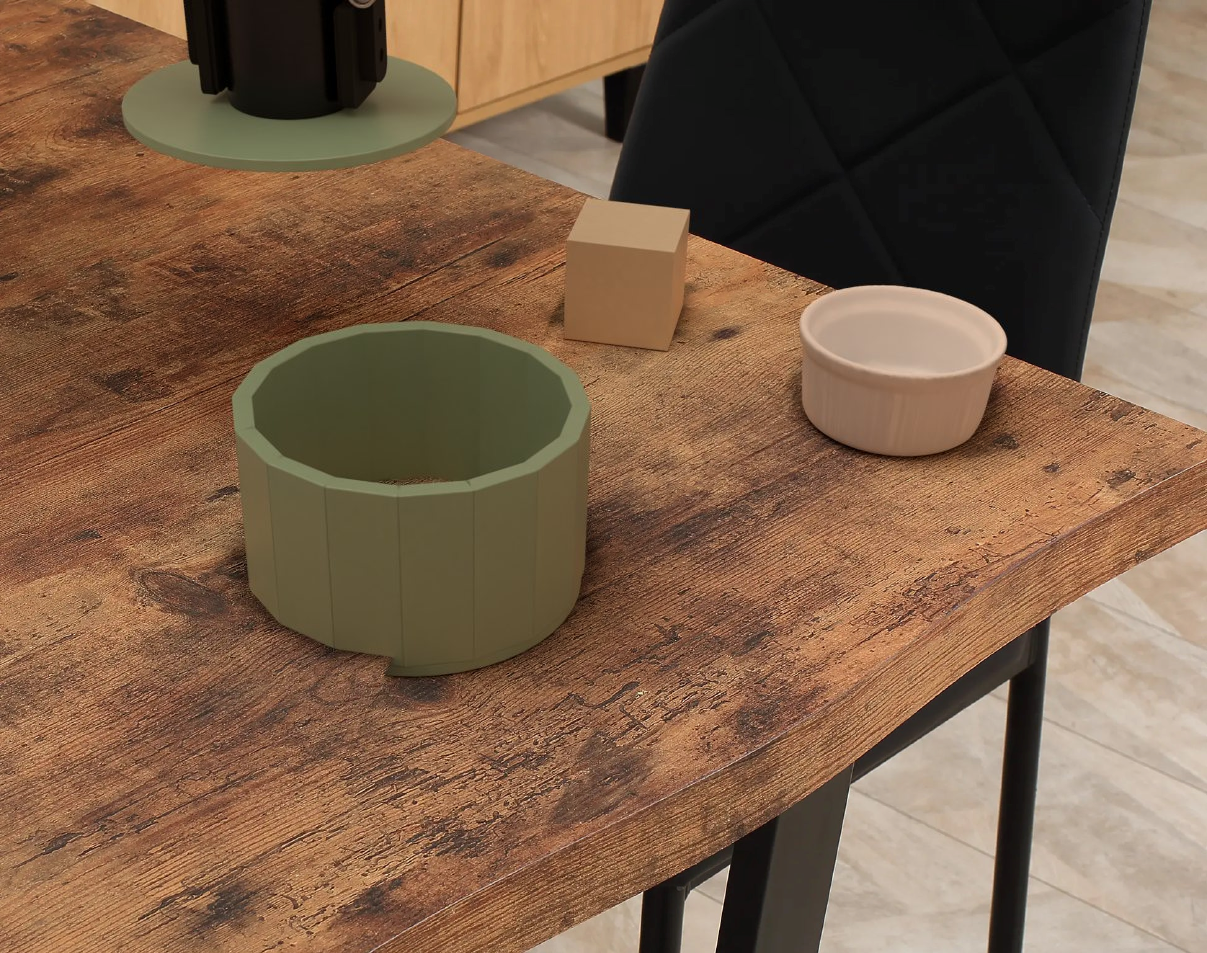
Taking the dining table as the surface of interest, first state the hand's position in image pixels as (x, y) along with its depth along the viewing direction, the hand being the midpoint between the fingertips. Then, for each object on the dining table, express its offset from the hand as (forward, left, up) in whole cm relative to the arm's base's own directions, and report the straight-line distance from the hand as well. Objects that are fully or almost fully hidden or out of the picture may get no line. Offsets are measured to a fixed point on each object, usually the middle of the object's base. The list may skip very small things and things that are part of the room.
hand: (290, 86), depth 70 cm
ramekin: (+26, +3, -13) cm, 29 cm away
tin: (+9, -14, -13) cm, 21 cm away
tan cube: (+13, +9, -13) cm, 20 cm away
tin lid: (0, 0, -1) cm, 1 cm away
